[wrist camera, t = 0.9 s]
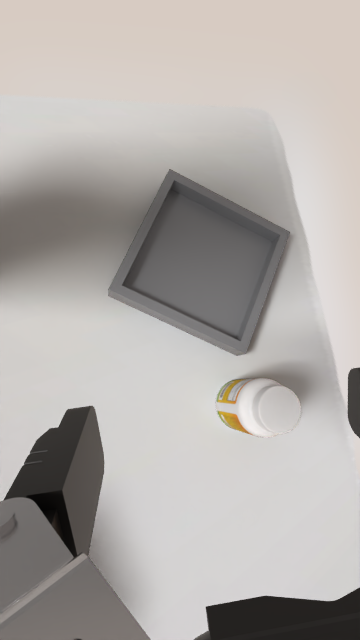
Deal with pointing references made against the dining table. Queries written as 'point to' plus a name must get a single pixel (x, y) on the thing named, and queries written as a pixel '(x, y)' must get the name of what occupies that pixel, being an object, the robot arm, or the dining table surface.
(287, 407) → the supplement bottle
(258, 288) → the tray
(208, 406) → the dining table surface
